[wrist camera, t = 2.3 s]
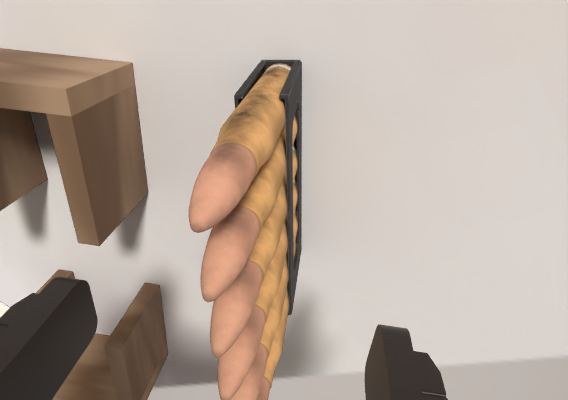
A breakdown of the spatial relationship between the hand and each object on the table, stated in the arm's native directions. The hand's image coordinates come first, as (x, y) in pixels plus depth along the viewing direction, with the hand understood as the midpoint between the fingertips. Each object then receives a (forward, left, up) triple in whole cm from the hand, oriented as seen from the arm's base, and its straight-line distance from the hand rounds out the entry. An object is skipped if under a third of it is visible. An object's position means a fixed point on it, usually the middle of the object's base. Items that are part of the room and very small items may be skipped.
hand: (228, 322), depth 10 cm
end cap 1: (+11, -1, -10) cm, 15 cm away
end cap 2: (+11, +13, -10) cm, 20 cm away
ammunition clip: (0, 0, -11) cm, 11 cm away
